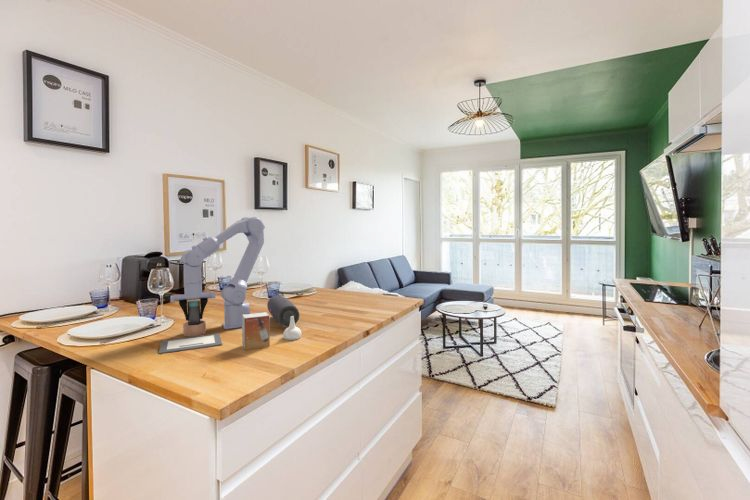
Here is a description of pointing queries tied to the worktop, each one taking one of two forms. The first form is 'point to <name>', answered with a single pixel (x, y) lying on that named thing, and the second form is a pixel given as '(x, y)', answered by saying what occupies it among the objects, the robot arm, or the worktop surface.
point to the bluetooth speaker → (282, 310)
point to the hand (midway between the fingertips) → (194, 319)
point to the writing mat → (190, 343)
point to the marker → (193, 312)
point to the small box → (255, 330)
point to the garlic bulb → (292, 331)
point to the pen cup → (194, 329)
